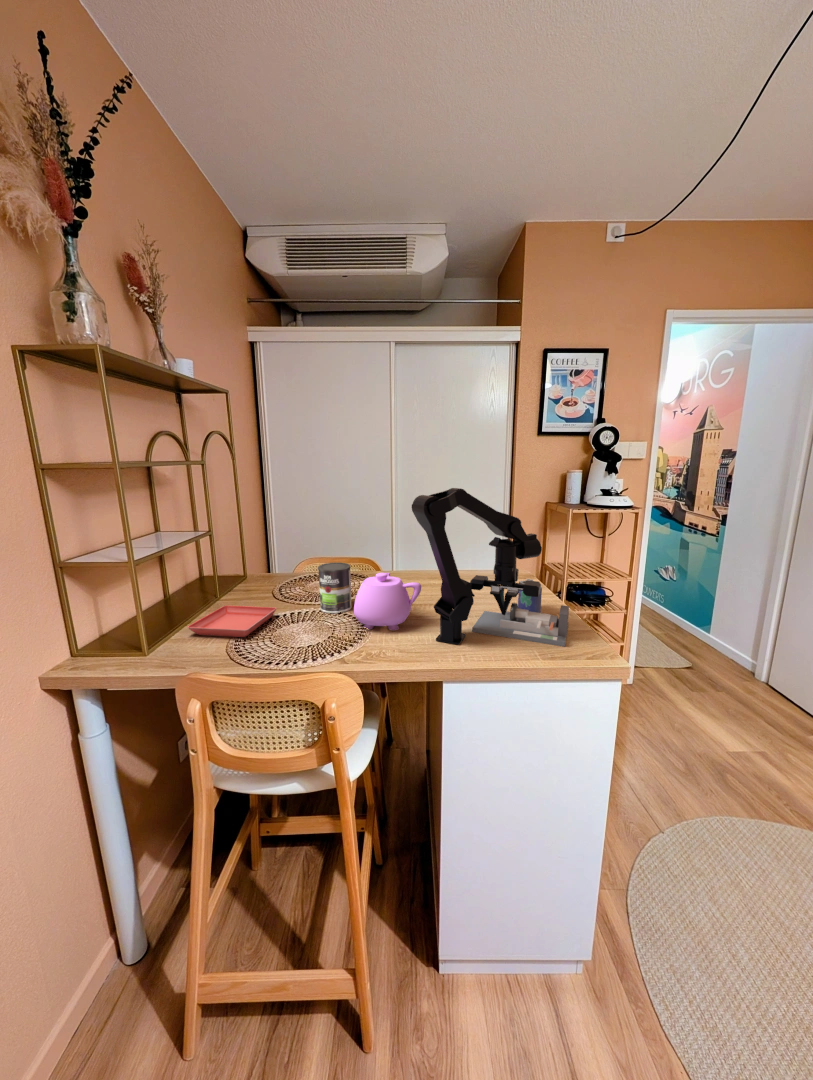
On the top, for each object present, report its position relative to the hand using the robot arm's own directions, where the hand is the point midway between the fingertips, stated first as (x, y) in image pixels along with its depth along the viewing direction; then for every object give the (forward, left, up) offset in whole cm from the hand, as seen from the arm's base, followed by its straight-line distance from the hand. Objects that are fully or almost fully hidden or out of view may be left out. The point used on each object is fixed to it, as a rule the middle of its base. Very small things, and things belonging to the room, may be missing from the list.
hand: (503, 614), depth 114 cm
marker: (-2, -13, -2) cm, 14 cm away
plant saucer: (-30, +72, -4) cm, 78 cm away
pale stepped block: (-2, -7, -2) cm, 8 cm away
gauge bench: (0, -5, -4) cm, 6 cm away
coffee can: (-6, +53, -4) cm, 54 cm away
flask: (+14, -5, -4) cm, 16 cm away
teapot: (-9, +32, -4) cm, 34 cm away
